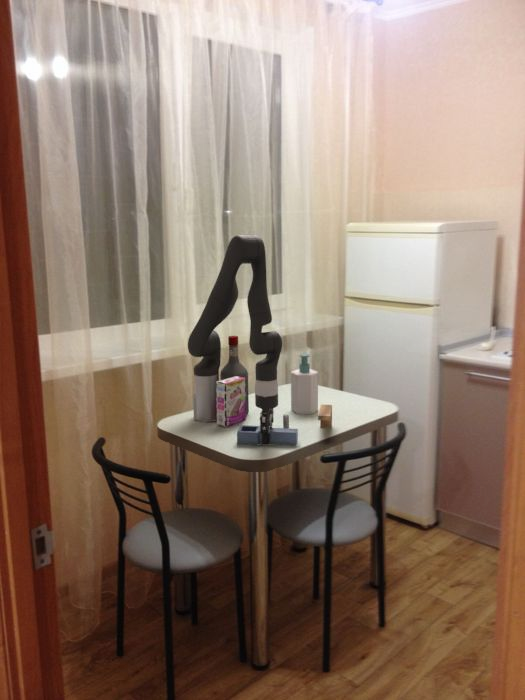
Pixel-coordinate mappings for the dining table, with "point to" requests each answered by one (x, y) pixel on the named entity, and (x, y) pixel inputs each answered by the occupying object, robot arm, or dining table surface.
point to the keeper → (325, 416)
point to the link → (276, 436)
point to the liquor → (235, 366)
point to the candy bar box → (231, 401)
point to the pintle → (285, 421)
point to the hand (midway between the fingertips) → (267, 440)
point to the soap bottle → (304, 388)
